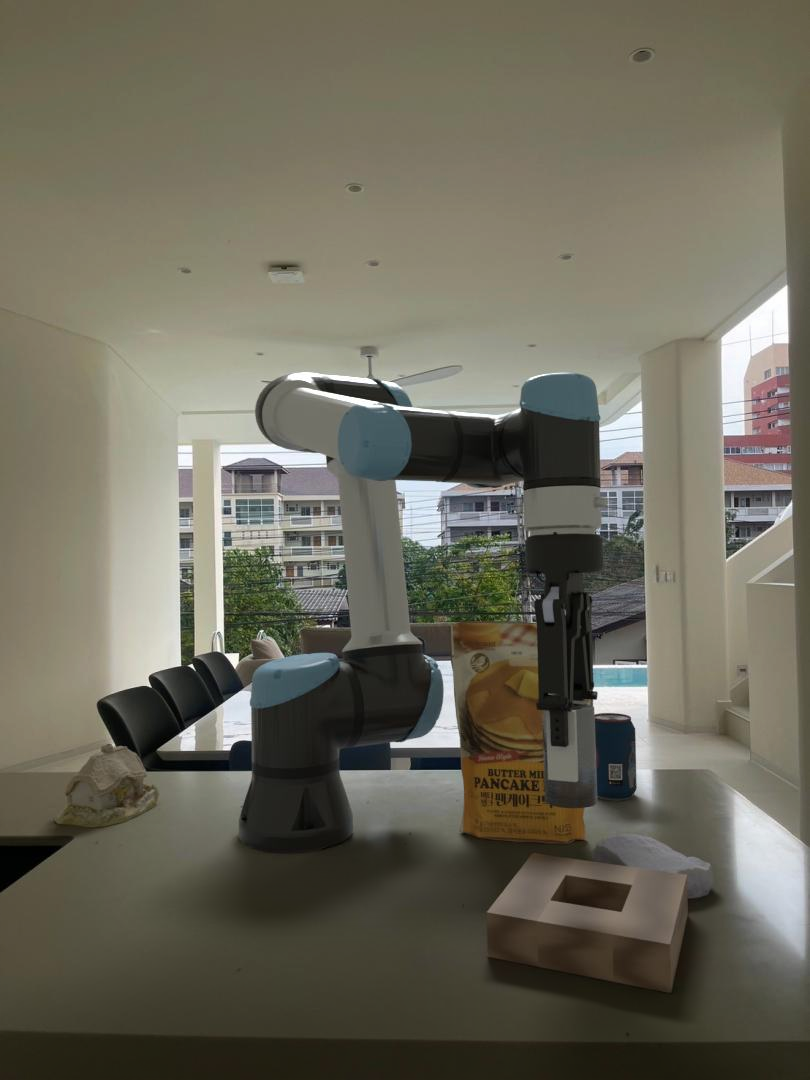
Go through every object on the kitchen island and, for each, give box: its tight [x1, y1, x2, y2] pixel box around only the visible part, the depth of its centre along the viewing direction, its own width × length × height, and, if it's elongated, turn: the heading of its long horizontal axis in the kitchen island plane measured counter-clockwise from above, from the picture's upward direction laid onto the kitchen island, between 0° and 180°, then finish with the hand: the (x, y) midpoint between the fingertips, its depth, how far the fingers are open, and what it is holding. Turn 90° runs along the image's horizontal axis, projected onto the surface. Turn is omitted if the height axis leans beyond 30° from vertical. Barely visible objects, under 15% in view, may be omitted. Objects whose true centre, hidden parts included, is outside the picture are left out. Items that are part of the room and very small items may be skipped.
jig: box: [486, 852, 689, 994], centre depth 77 cm, size 16×16×4 cm
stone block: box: [592, 832, 715, 900], centre depth 90 cm, size 12×5×10 cm
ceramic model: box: [54, 743, 160, 828], centre depth 117 cm, size 14×11×10 cm
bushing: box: [542, 703, 599, 809], centre depth 78 cm, size 5×5×9 cm
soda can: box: [594, 712, 638, 802], centre depth 123 cm, size 7×7×12 cm
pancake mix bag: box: [447, 620, 594, 845], centre depth 106 cm, size 7×19×28 cm, turn 78°
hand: (570, 772), depth 78 cm, fingers closed on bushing, 5 cm apart
